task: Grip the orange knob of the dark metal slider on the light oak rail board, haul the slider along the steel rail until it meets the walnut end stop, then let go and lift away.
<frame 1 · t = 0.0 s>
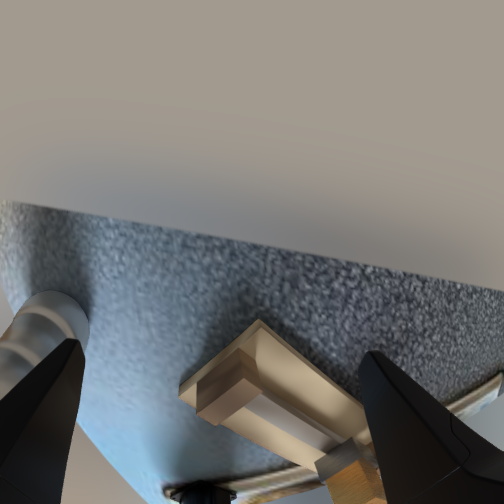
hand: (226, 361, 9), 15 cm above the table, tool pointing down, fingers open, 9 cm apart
plastic bottle: (63, 316, 24), on the table
slider block: (354, 481, 25), point 7 cm above the table, slide at -6.0 cm
rail board: (302, 415, 30), on the table
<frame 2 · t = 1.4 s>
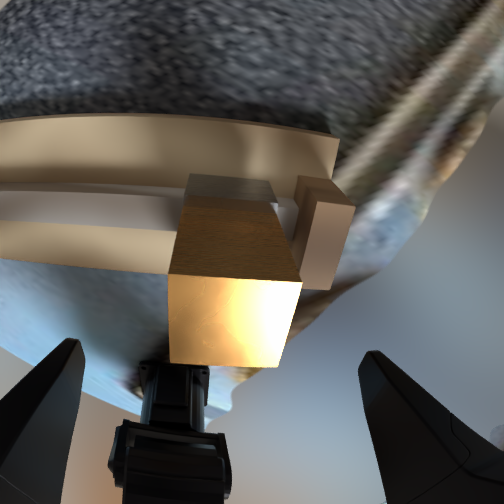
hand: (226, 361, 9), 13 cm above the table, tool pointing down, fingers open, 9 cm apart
slider block: (225, 262, 14), point 7 cm above the table, slide at -6.0 cm
rail board: (129, 191, 19), on the table
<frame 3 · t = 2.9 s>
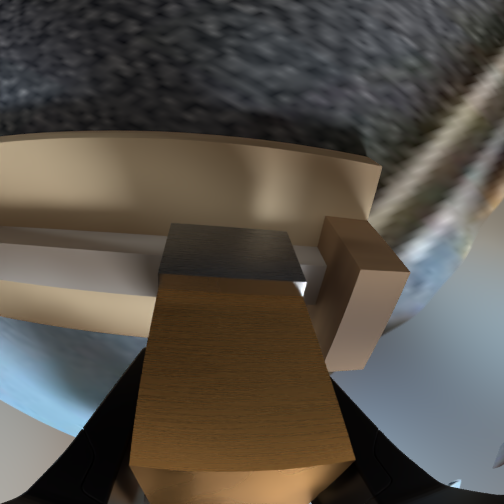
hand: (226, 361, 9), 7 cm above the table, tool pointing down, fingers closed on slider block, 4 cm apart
slider block: (227, 368, 9), point 7 cm above the table, slide at -6.0 cm, touching gripper
rail board: (98, 235, 14), on the table
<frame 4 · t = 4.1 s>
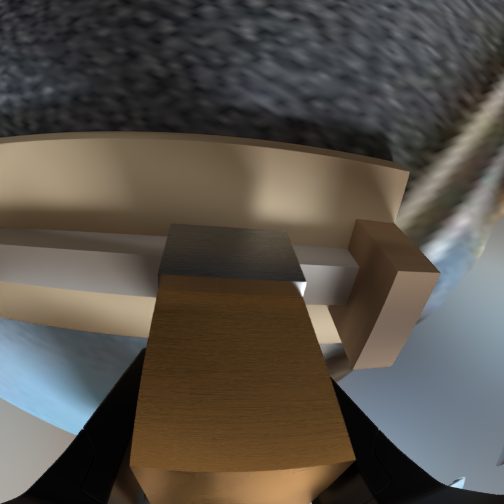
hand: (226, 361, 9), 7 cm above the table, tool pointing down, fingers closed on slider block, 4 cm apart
slider block: (227, 368, 9), point 7 cm above the table, slide at -4.5 cm, touching gripper
rail board: (126, 237, 15), on the table
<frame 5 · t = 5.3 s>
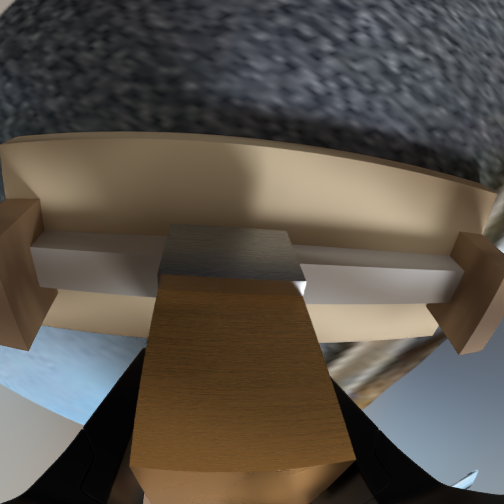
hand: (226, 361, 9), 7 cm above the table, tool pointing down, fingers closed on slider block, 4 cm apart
slider block: (227, 368, 9), point 7 cm above the table, slide at 1.9 cm, touching gripper
rail board: (261, 245, 15), on the table
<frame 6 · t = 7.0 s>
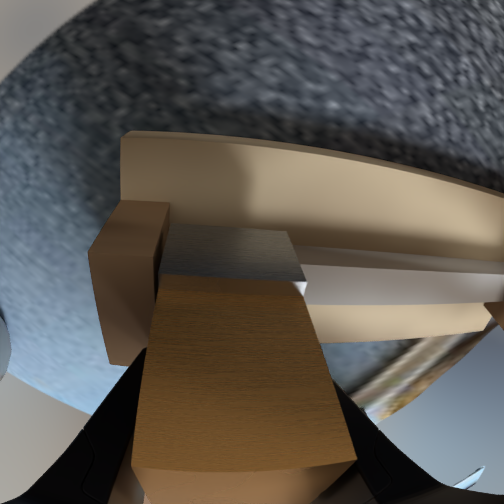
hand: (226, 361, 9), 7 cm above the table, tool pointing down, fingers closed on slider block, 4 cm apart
slider block: (227, 368, 9), point 7 cm above the table, slide at 7.7 cm, touching gripper
rail board: (370, 254, 16), on the table
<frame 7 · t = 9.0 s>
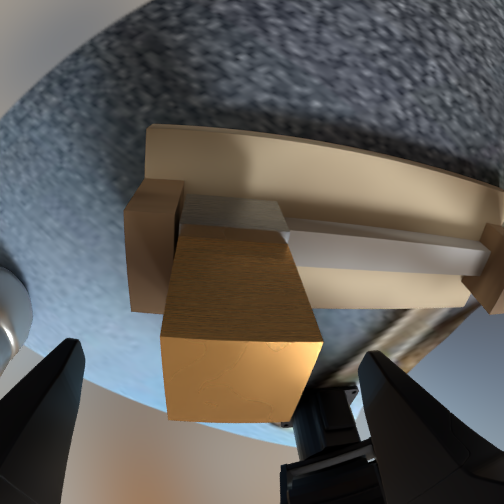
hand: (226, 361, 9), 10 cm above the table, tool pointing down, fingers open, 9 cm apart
plastic bottle: (8, 289, 19), on the table
slider block: (229, 300, 12), point 7 cm above the table, slide at 7.7 cm
rail board: (352, 229, 19), on the table
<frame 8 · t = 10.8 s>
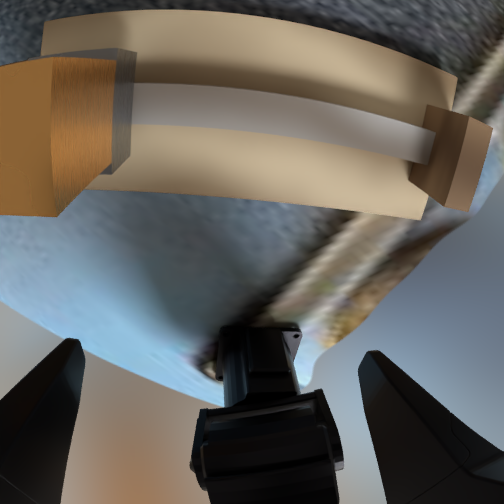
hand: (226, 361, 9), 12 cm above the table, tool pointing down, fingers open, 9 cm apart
slider block: (55, 117, 9), point 7 cm above the table, slide at 7.7 cm
rail board: (250, 106, 17), on the table
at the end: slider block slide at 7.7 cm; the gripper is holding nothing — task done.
